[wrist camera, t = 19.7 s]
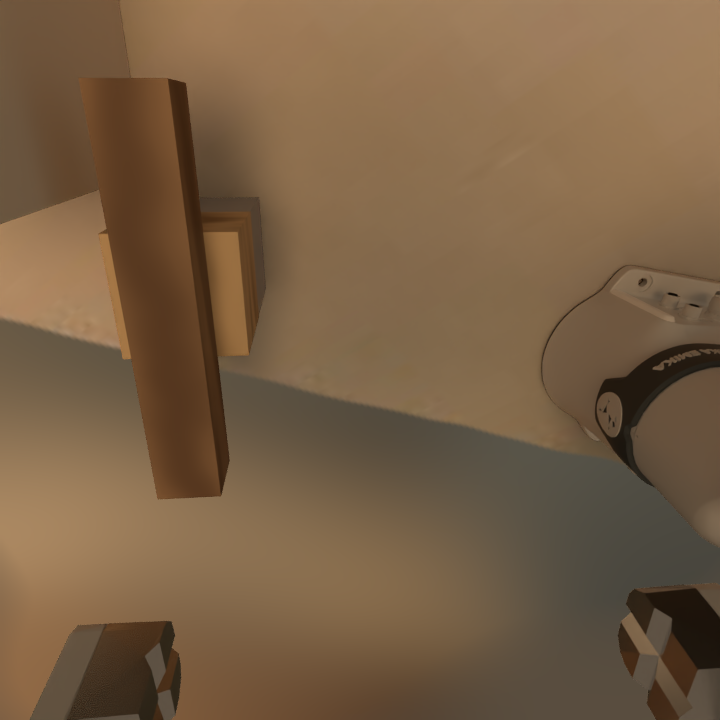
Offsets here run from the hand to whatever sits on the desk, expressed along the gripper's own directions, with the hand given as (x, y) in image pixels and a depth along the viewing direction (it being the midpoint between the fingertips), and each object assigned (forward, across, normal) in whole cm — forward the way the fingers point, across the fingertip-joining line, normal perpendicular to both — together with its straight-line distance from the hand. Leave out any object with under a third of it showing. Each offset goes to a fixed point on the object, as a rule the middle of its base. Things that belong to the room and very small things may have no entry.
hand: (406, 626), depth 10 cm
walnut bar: (+26, +10, +2) cm, 28 cm away
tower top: (+34, +10, +2) cm, 35 cm away
